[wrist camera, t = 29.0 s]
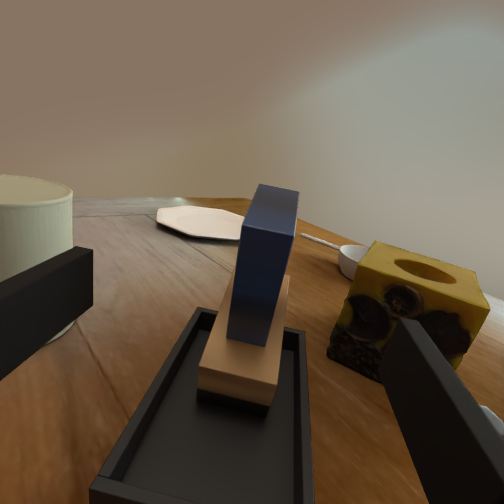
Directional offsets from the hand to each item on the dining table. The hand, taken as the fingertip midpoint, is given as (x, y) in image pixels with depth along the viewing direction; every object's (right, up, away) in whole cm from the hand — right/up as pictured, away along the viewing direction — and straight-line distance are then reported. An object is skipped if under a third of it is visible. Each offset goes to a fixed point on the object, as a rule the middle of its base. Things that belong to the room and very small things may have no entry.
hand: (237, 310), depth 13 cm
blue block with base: (0, -5, +12) cm, 14 cm away
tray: (-1, -9, +9) cm, 12 cm away
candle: (+14, -8, +18) cm, 25 cm away
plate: (-8, +7, +48) cm, 49 cm away
